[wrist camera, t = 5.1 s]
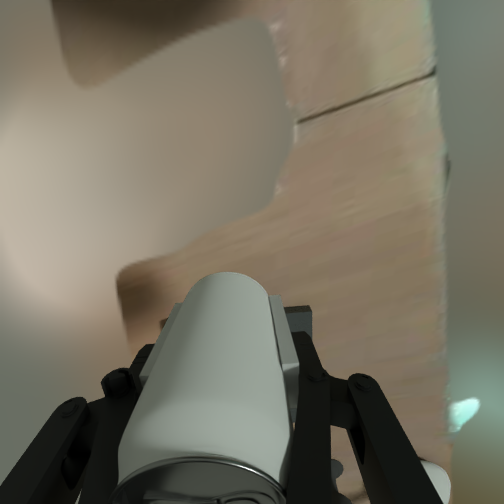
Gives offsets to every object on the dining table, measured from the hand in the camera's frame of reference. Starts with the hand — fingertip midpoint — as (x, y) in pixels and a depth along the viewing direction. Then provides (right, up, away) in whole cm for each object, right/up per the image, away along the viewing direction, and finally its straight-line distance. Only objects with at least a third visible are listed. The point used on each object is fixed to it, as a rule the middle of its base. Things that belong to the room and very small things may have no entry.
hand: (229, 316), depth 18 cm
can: (0, 0, +1) cm, 1 cm away
